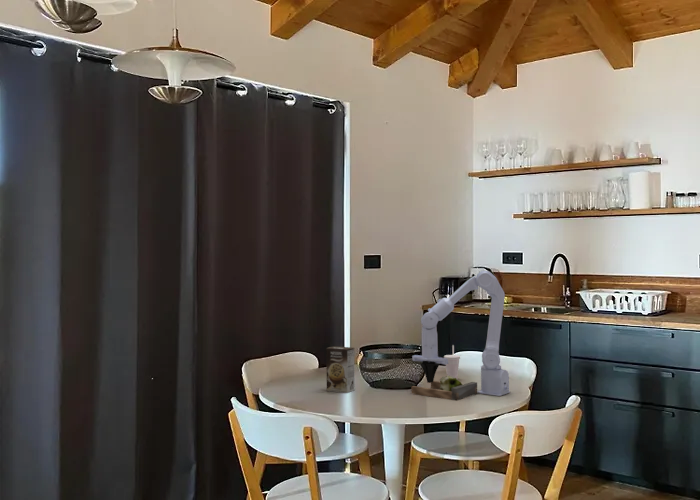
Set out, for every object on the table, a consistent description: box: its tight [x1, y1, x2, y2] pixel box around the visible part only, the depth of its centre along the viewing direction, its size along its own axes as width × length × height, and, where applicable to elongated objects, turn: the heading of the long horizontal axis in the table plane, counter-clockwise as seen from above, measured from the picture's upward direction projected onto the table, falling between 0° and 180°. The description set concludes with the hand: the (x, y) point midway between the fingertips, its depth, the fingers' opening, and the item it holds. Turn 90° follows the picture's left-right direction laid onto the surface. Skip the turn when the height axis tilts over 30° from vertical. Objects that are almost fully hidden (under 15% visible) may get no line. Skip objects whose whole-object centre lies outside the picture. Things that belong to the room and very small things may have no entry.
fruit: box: [439, 375, 464, 391], centre depth 247 cm, size 9×9×8 cm
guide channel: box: [411, 380, 478, 401], centre depth 247 cm, size 19×14×4 cm
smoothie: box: [443, 344, 461, 380], centre depth 272 cm, size 6×6×14 cm
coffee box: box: [325, 345, 356, 394], centre depth 255 cm, size 9×6×16 cm
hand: (430, 382), depth 251 cm, fingers closed
